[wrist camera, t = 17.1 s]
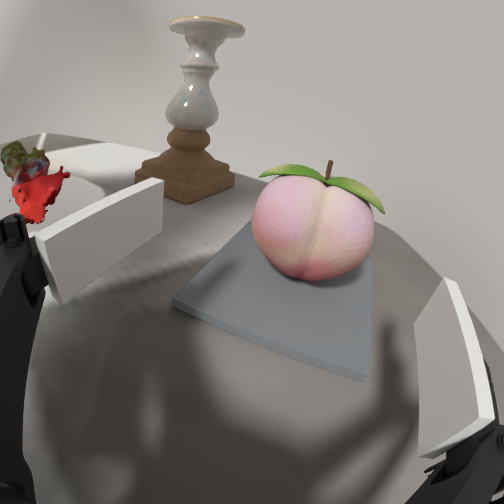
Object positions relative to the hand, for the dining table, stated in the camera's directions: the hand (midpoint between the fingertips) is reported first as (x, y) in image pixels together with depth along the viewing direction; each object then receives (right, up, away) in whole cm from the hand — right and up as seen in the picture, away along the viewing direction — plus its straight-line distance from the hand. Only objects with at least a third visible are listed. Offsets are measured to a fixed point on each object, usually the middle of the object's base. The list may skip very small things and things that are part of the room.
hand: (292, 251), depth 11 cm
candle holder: (-12, +10, +27) cm, 31 cm away
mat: (+2, -3, +12) cm, 13 cm away
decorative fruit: (+2, -2, +12) cm, 12 cm away
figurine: (-28, +4, +13) cm, 31 cm away
